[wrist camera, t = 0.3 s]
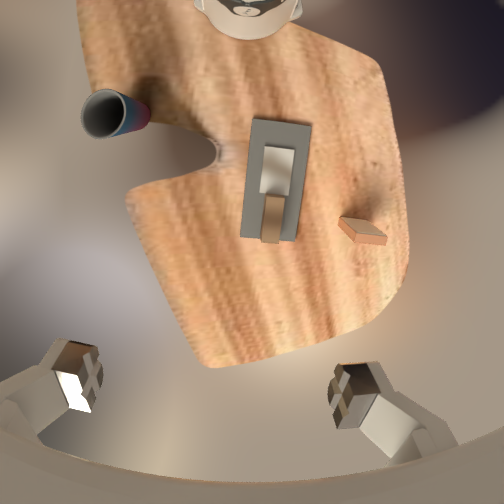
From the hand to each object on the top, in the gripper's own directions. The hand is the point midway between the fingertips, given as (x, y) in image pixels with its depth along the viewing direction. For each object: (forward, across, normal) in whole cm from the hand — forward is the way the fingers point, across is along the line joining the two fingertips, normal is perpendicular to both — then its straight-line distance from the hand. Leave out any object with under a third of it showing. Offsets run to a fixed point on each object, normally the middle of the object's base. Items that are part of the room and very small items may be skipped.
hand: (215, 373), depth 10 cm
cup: (+46, +18, -9) cm, 50 cm away
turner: (+45, -8, +3) cm, 46 cm away
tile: (+46, -24, +7) cm, 52 cm away
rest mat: (+46, -8, +1) cm, 47 cm away
